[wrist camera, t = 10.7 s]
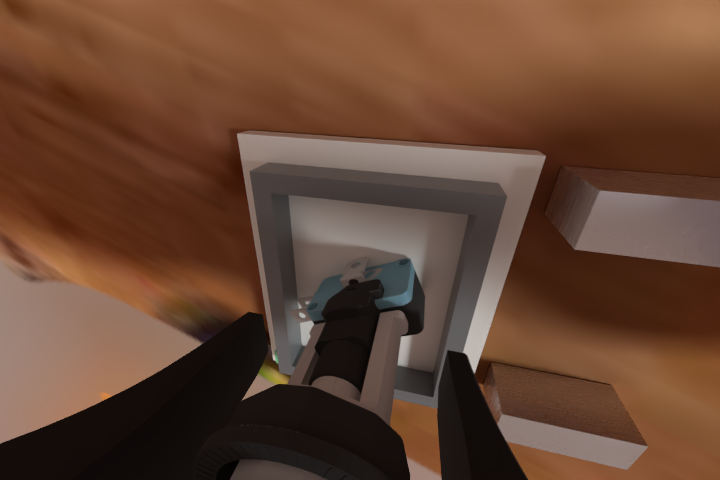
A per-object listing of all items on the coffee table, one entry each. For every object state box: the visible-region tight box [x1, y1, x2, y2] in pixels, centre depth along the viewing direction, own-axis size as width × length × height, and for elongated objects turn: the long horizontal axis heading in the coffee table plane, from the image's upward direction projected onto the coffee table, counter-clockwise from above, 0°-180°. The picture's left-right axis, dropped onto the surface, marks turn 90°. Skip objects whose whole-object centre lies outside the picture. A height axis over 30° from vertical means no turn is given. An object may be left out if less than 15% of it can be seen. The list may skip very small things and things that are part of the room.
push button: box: [193, 257, 425, 480], centre depth 10 cm, size 7×5×10 cm
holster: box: [483, 166, 720, 470], centre depth 12 cm, size 6×13×3 cm, turn 178°
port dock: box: [237, 130, 546, 408], centre depth 14 cm, size 12×14×2 cm
